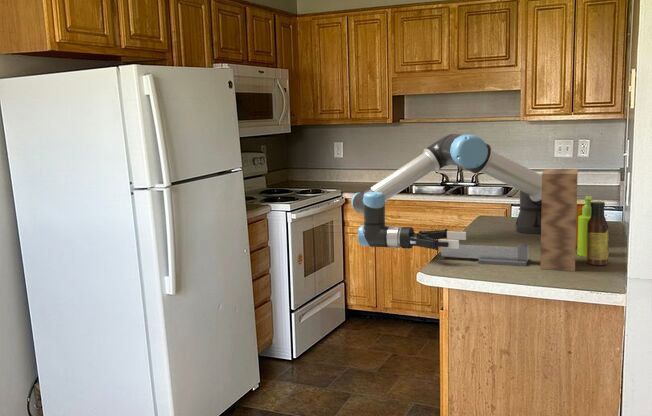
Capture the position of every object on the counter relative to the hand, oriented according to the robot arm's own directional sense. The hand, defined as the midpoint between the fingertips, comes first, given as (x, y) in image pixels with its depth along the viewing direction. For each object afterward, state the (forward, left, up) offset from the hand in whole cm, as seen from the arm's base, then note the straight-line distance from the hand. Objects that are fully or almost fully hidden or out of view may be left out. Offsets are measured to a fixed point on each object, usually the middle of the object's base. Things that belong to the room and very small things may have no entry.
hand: (462, 240), depth 204 cm
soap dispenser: (-32, +26, -7) cm, 42 cm away
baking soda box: (-45, +17, -7) cm, 49 cm away
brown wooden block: (-15, +26, -7) cm, 31 cm away
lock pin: (-4, +6, -6) cm, 9 cm away
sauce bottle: (-24, +34, -7) cm, 42 cm away
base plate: (-7, +11, -7) cm, 15 cm away
